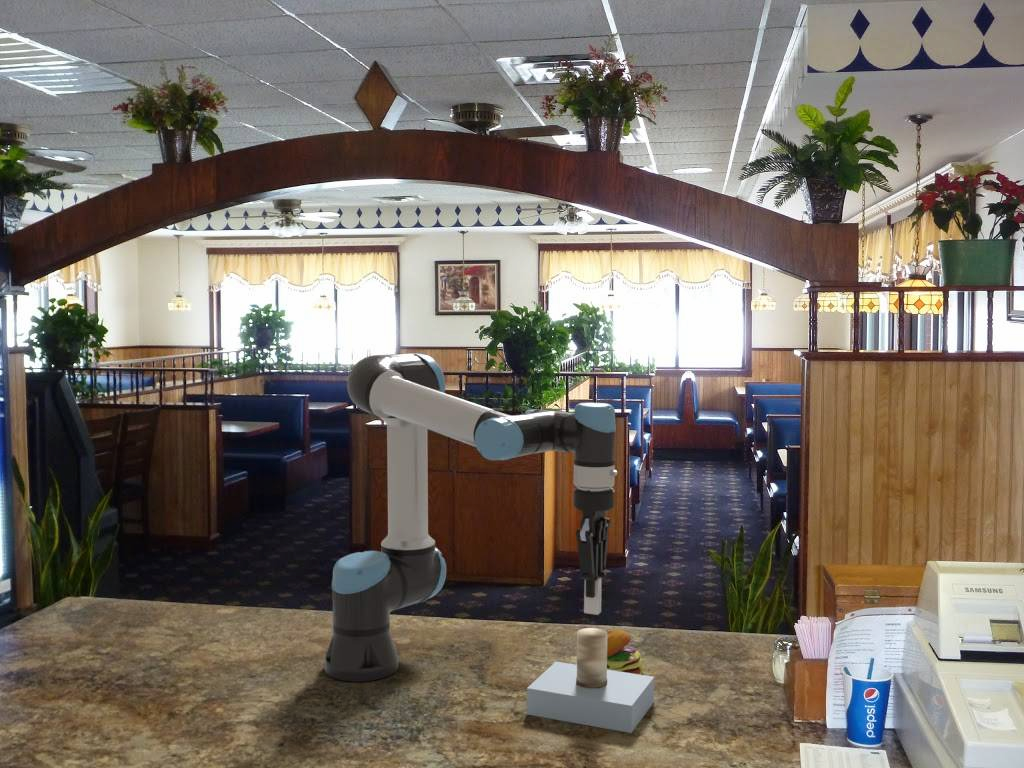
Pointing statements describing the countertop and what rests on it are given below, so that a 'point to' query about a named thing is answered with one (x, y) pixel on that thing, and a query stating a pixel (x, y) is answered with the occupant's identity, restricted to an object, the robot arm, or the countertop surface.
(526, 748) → the countertop surface
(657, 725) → the countertop surface
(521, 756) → the countertop surface
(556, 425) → the robot arm
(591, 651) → the peg
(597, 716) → the board
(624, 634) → the cheeseburger
